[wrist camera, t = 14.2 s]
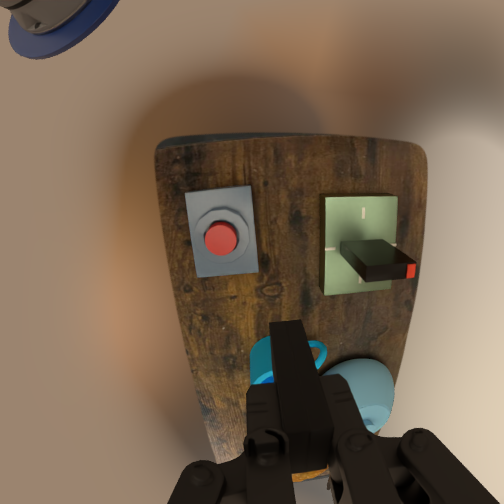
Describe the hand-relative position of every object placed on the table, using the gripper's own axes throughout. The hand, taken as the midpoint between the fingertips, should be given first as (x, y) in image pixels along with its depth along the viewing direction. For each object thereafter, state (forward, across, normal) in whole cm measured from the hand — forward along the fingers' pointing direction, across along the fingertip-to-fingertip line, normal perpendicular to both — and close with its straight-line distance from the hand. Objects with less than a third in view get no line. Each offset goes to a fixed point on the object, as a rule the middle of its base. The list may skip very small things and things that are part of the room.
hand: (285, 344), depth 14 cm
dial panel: (+26, +13, -3) cm, 30 cm away
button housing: (+26, -5, 0) cm, 27 cm away
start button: (+23, -5, 0) cm, 23 cm away
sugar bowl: (+26, +14, -30) cm, 42 cm away
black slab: (+23, +13, -3) cm, 27 cm away
